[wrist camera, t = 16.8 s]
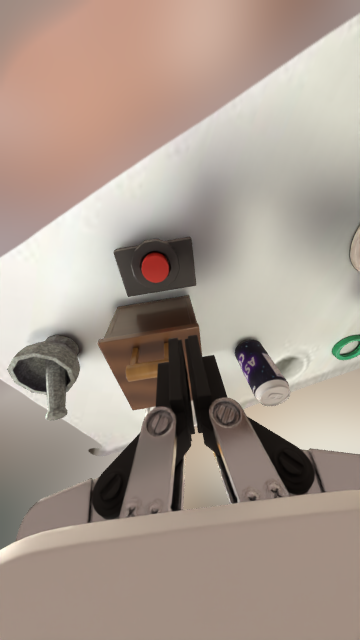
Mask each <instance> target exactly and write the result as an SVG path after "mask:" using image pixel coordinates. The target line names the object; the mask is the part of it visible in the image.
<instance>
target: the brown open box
mask: <svg viewBox="0 0 360 640" xmlns="http://www.w3.org/2000/svg"><path fill="white" fill-rule="evenodd" d="M196 323H197V321H196V318H195V314H194V311H193V307H192V304H191V300H190V297H189V295H187V296H181V297H175V298H169V299H163V300H157V301H151V302H145V303H139V304H133V305H127V306H121V307H117V309H116V311H115V313H114V316H113V318H112V320H111V323H110V325H109V327H108V330H107V332H106V334H105V337H104V339H105V338H111V337H117V336H123V335H129V334H135V333H141V332H147V331H153V330H160V329H166V328H172V327H178V326H184V325H190V324H196Z"/></svg>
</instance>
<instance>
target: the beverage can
mask: <svg viewBox="0 0 360 640" xmlns="http://www.w3.org/2000/svg"><path fill="white" fill-rule="evenodd" d="M235 356H236V358H237V360H238V362H239V364H240V366H241V369H242V371H243V373H244V375H245V377H246V379H247V381H248V383H249V385H250V387H251V390H252V392H253V394H254V396H255V397H256V398H257V399H258V400H259V401H260V403H261V404H262V405H265V406H276V405H279V404H281V403H283V402H285V401H286V400H287V399H288V398H289V396H290V390H289V385H288V382H287V381H286V379H285V378H284V376H283V375H282V374H281V372H280V371H279V369H278V368H277V366H276V365H275V364H274V362H273V361H272V359H271V358H270V356H269V355H268V353H267V352H266V351H265V349H264V348H263V346H262V345H261V343H260V342H258V341H256V340H245V341H243V342H241V343H240V344H239V345H238V346H237V348H236V350H235Z"/></svg>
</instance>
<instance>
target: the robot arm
mask: <svg viewBox="0 0 360 640" xmlns="http://www.w3.org/2000/svg"><path fill="white" fill-rule="evenodd" d="M350 258H351V262H352V264H353V266H354V268H356V269H357V270H358V271H360V226H359V228H358V230H357V232H356V234H355V236H354V239H353V241H352V245H351V250H350ZM185 347H186V354H187V362H188V369H189V377H190V384H191V392H192V399H193V405H194V410H195V416H196V422H197V428H198V432H199V433H203V437H204V443H205V445H206V446H208V447H209V448H210V449H211V450H212V451H213V454H214V457H215V459H216V463H217V466H218V469H219V472H220V475H221V478H222V481H223V484H224V487H225V490H226V493H227V496H228V500H229V503H230V504H227V505H220V506H213V507H204V508H196V509H189V510H183V499H184V481H185V460H186V452H187V451H188V450H189V448H190V447H191V441H192V439H191V434H195V429H194V421H193V413H192V405H191V397H190V389H189V381H188V374H187V368H186V362H185V356H184V350H183V345H182V339H181V340H178V337H177V338H171V339H168V357H169V362H164V363H158V370H157V389H156V408H154V409H152V410H151V411H150V412H148V414H147V415H146V416H145V418H144V421H143V424H142V428H141V432H140V434H139V435H138V436H137V437H136V438H135V439H134V440H133V441H132V442H131V443H130V444H129V445H128V446H127V447H126V448H125V450H124V451H123V452H122V453H121V454H120V455H119V456H118V457H117V458H116V459H115V460H114V461H113V462H112V464H111V465H110V466H109V467H108V468H107V469H106V470H105V471H104V472H103V473H102V474H101V476H100V477H98V478H96V479H94V480H93V479H92V478H90V479H88V480H86V481H83V482H81V483H79V484H76V485H74V486H71V487H69V488H66V489H64V490H62V491H59V492H57V493H55V494H52V495H50V496H47V497H45V498H43V499H41V500H39V501H38V502H36V503H35V504H34V505H33V506H32V507H31V508H30V509H29V511H28V512H27V514H26V515H25V517H24V518H23V521H22V523H21V526H20V528H19V531H18V535H17V538H16V541H15V542H14V543H12V544H11V545H9V546H7V547H5V548H3V549H2V550H0V640H360V454H352V453H344V452H334V451H326V450H318V449H309V450H301V449H299V448H298V447H296V446H295V445H293V444H291V443H290V442H288V441H286V440H285V439H283V438H282V437H280V436H278V435H277V434H275V433H273V432H272V431H270V430H268V429H267V428H265V427H264V426H262V425H260V424H259V423H257V422H255V421H254V420H252V419H250V418H248V417H247V416H246V414H245V412H244V410H243V408H242V407H241V406H240V404H239V403H238V402H236V401H235V400H233V399H231V398H227V395H226V391H225V388H224V385H223V382H222V379H221V376H220V372H219V369H218V366H217V363H216V360H215V357H214V355H211V356H205V357H202V354H201V350H200V346H199V341H198V337H197V335H191V336H188V338H187V339H185Z"/></svg>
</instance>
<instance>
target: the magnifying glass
mask: <svg viewBox="0 0 360 640" xmlns="http://www.w3.org/2000/svg"><path fill="white" fill-rule="evenodd" d="M353 341H360V335H356V336H350V337H347V338H345V339H343V340H341V341H340V342H338V343H337V344H336V345H335V346H334V348H333V350H332V353H333V355H334V356H335V357H336V358H337V359H339V360H348V359H352V358H354V357H357V356H358V355H360V345H359V347H358V348H357V349H356V350H355V351H353V352H351V353H349V354H346V355H340V350H341V349H342V348H343V347H344V346H345V345H346V344H348V343H350V342H353Z"/></svg>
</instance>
